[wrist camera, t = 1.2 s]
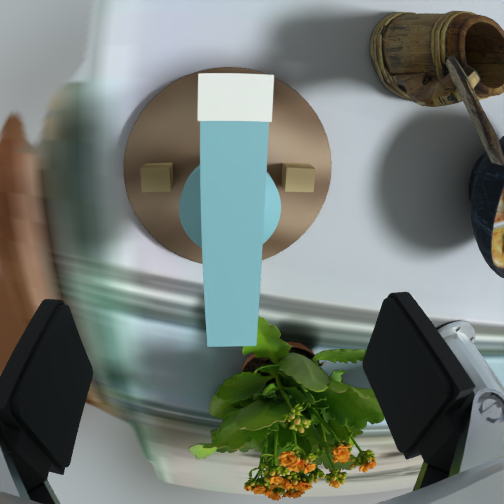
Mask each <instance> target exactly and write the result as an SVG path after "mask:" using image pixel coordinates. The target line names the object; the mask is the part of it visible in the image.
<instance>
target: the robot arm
mask: <svg viewBox="0 0 504 504" xmlns="http://www.w3.org/2000/svg"><path fill="white" fill-rule="evenodd" d="M474 341H475V331H474V329H473V327H472V326H471V325H470V324H469V323H467V322H464V321H458V322H453V323H450V324H447V325H445V326H443V327H441V328H440V329H438V330H437V329H436V328H435V326H434V325H433V324H432V322H431V321H430V319H429V318H428V317H427V315H426V314H425V313H424V311H423V310H422V309H421V307H420V306H419V305H418V304H417V302H416V301H415V300H414V298H413V297H412V296H411V294H409V293H408V292H398V293H391V294H389V295H388V297H387V298H386V299H384V301H383V303H382V306H381V309H380V312H379V316H378V319H377V322H376V325H375V327H374V330H373V333H372V336H371V339H370V342H369V345H368V347H367V350H366V353H365V355H364V358H363V369H364V372H365V374H366V376H367V378H368V380H369V383H370V385H371V387H372V390H373V392H374V394H375V396H376V399H377V401H378V403H379V406H380V408H381V410H382V413H383V415H384V417H385V420H386V422H387V424H388V427H389V429H390V432H391V434H392V436H393V439H394V441H395V444H396V446H397V449H398V450H399V451H400V452H401V453H404V456H405V458H406V460H407V459H410V458H413V457H416V456H419V455H422V458H423V460H424V462H423V464H422V467H421V470H420V473H419V476H418V478H417V481H416V484H415V486H414V489H413V491H412V492H410V493H407V494H404V495H401V496H398V497H395V498H392V499H389V500H386V501H383V502H379V503H376V504H504V387H503V385H502V384H501V382H500V381H499V379H498V378H497V376H496V375H495V373H494V372H493V371H492V369H491V368H490V366H489V365H488V364H487V362H486V361H485V359H484V358H483V357H482V355H481V354H480V353H479V351H478V350H477V349H476V347H475V346H474V345H473V344H474ZM92 376H93V370H92V366H91V364H90V361H89V359H88V356H87V354H86V351H85V349H84V346H83V344H82V341H81V339H80V336H79V333H78V330H77V328H76V325H75V322H74V319H73V316H72V314H71V311H70V308H69V306H68V305H65V304H64V302H63V301H62V300H54V299H45V300H43V301H42V303H41V304H40V306H39V308H38V309H37V311H36V312H35V314H34V316H33V317H32V319H31V321H30V323H29V324H28V326H27V328H26V329H25V331H24V333H23V335H22V336H21V338H20V340H19V342H18V344H17V346H16V347H15V349H14V351H13V353H12V355H11V357H10V359H9V361H8V362H7V365H6V367H5V369H4V371H3V372H2V374H1V376H0V504H60V502H59V500H58V499H57V497H56V495H55V493H54V491H53V489H52V488H51V486H50V484H49V482H48V480H47V477H48V473H49V472H53V473H57V474H61V475H63V474H64V470H65V467H68V466H69V465H70V462H71V457H72V453H73V448H74V444H75V440H76V436H77V432H78V427H79V423H80V420H81V416H82V412H83V408H84V405H85V401H86V398H87V394H88V391H89V387H90V384H91V380H92Z"/></svg>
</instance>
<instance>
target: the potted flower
mask: <svg viewBox="0 0 504 504" xmlns="http://www.w3.org/2000/svg"><path fill="white" fill-rule="evenodd" d="M280 336H281V333H280V331H279V330H278V328H277V327H276V326H274V325H271V324H269V323H268V321H267V320H266V319H264V318H261V317H258V328H257V344H256V346H243V348H242V352H243V353H242V355H243V354H245V355H247V354H248V353H252V354H251V355H250V356H249V357H248V358H247V359H246V361H245V363H244V365H243V367H242V372H241V374H236V375H233V376H232V377H231V378H232V379H227V380H224V383H223V385H220V386H219V389H218V390H217V391H216V393H215V395H213V396H212V401H211V402H210V408H209V413H210V414H211V416H213V417H217V418H220V419H222V418H224V419H223V422H222V424H221V425H220V427H219V428H218V429H216V430H211V432H210V433H211V438H212V443H210V444H196V445H193V446H191V447H190V448H189V452H190V453H191V454H192V455H196V459H202V458H207V457H208V456H210V455H211V454H212V453H214V452H215V451H217V452H221V453H224V452H226V451H228V452H229V453H232V452H235V451H237V450H238V449H239V450H240V451H241V452H247V451H248V450H249V449H254V448H255V450H256V451H258V452H262V454H261V456H260V464H259V467H258V468H254V469H252V470H251V471H250V472H249V477H252V471H254V470H256V469H259V471H258V473H257V474H256V476H255V478H249V479H250V480H248V482H246V483H245V486H244V489H245V490H246V491H250V490H251V491H254V493H255V494H265V496H268V498H272V499H273V500H277V501H278V500H279V499H281V497H280V495H282V494H283V496H282V497H287V496H288V497H289V498H290V497H293V498H294V499H295V498H297V497H300V496H301V494H304V493H305V492H304V491H305V490H308V489H310V488H312V486H311V485H312V484H313V483H312V481H314V482H315V483H317V482H318V478H317V477H319V478H320V479H321V478H322V479H323V478H324V476H325V474H324V473H323V471H321V470H320V469H318V467H317V465H321V464H322V462H323V465H324V467H325V468H326V469H328V468H329V471H330V472H331V473H329V474H326V476H325V478H327V480H326V482H327V483H330V484H329V486H333V487H335V488H338V487H339V486H340V483H341V484H344V483H345V480H344V479H345V478H346V474H347V473H346V472H342V473H341V472H340V471H341V468H342V470H344V469H346V470H351V469H353V468H355V467H356V466H357V465H358V466H360V465H361V467H360V468H359V471H363V472H367V471H368V469H369V468H370V469H373V468H374V466H376V465H377V463H376V462H375V460H376V457H374V454H373V451H370V450H367V451H362V450H361V449H360V447H359V446H358V445H357V443H356V441H355V440H354V438H353V437H356V435H360V434H362V433H363V431H361V430H360V429H364V428H365V427H366V425H367V421H368V422H370V423H371V424H374V423H380V422H382V421H383V420H384V415H383V413H382V410H381V408H380V406H379V403H378V401H377V399H376V396H375V394H374V392H373V390H372V389H366V388H357V387H353V386H351V385H348V384H346V383H343V382H341V379H342V378H341V375H342V374H344V372H349V371H344V370H334V371H333V372H332V374H331V376H330V378H329V376H328V375H327V374H326V373H325V371H324V370H323V369H322V368H320V367H319V366H322V365H323V364H324V363H325V362H322V363H321V364H320V363H319V360H329V361H331V362H334V363H336V361H339V362H340V363H341V362H344V363H346V364H347V363H348V362H349V361H351V362H352V363H357V360H359V361H363V358H364V355H365V353H366V350H354V349H335V350H325V351H322V352H320V353H318V354H316V355H315V354H314V353H313V352H312V351H311V350H310V349H309V348H307V347H306V346H304V345H303V344H301V343H298V342H296V343H295V342H285V341H283V340H281V339H280V338H279V337H280ZM347 442H348V443H347ZM354 444H355V446H356V447H357V449H358V450H359V452H360V453H359V454H358V456H357V457H354V456H353V455H352V454H351V451H350V450H352V447H353V445H354ZM299 451H300V452H299ZM363 453H364V454H363ZM264 457H265V458H264ZM263 458H264V462H263ZM371 460H372V462H368V461H371ZM310 462H312V464H310ZM284 466H286V467H284ZM265 467H266V470H263V469H264V468H265ZM289 470H290V471H291V472H290V471H289ZM262 471H263V472H262ZM297 472H298V473H297ZM301 472H302V473H301ZM262 473H264V474H263V475H264V477H263V476H262ZM309 473H310V474H309ZM280 474H282V475H283V476H279V475H280ZM305 474H306V475H305ZM307 474H309V476H307ZM258 475H259V476H260V475H261V478H259V476H258ZM257 477H258V478H257ZM256 478H257V480H256ZM291 480H292V482H291ZM331 480H332V481H331ZM276 484H279V485H276ZM285 490H287V491H286V492H285Z"/></svg>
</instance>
